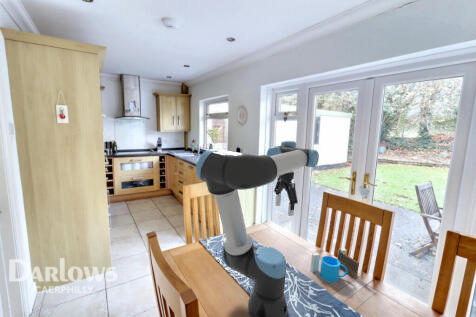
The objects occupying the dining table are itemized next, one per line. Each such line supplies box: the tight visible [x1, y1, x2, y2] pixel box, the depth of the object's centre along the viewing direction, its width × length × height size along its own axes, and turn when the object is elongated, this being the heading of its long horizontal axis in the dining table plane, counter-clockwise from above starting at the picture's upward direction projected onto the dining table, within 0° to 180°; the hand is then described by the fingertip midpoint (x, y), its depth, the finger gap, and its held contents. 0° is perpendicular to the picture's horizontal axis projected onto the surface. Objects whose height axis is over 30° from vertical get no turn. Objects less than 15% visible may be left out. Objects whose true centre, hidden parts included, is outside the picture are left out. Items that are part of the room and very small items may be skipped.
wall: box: [310, 248, 348, 273], centre depth 113 cm, size 2×20×10 cm, turn 108°
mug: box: [319, 255, 348, 283], centre depth 106 cm, size 12×8×8 cm
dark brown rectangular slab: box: [339, 252, 360, 280], centre depth 110 cm, size 2×10×8 cm, turn 27°
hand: (283, 210), depth 118 cm, fingers open, 13 cm apart
